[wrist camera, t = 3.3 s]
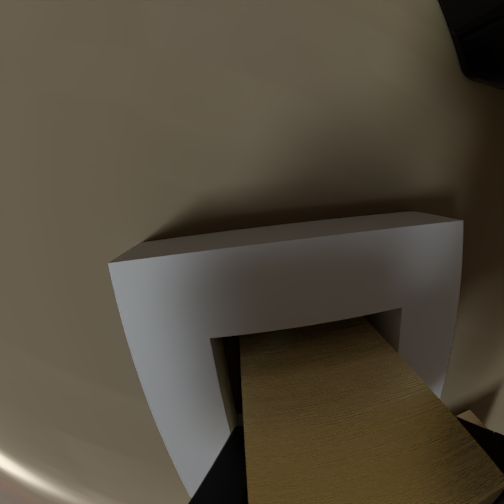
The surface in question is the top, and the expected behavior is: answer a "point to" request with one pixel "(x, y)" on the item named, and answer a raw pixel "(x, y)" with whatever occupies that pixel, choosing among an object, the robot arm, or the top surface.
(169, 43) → the top surface
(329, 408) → the pin
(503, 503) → the robot arm
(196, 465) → the frame
